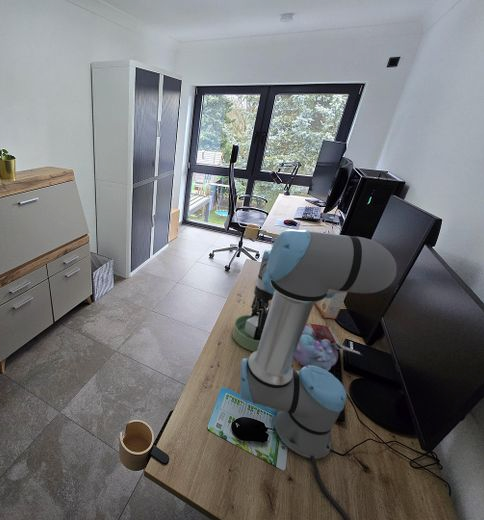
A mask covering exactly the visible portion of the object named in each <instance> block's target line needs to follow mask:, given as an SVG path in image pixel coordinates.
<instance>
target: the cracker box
mask: <svg viewBox="0 0 484 520" xmlns="http://www.w3.org/2000/svg"><path fill="white" fill-rule="evenodd" d="M347 295H348V292H341V293H336V294H335V295H334V296H333V297H332V298H324V299H323V300H321V301H319V302H315V303H314V305H315V306H316V307H317V308H318V310H319V312H320V314H321V316H322V317H323V318H325V319H333V320H337V318H338V315H339V313H340V311H341V309H342V306H343V303H344V301H345V299H346V297H347Z"/></svg>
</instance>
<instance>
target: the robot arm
mask: <svg viewBox="0 0 484 520" xmlns="http://www.w3.org/2000/svg"><path fill="white" fill-rule="evenodd" d="M260 262H261V263H260V265H259V266H260V267H259V272H258V275H257V278H256V282H255V286H254V291H253V294H254V297H253V300H252V303H251V306H250V308H251V314H250V315H251V318H252V317H254V316H257V317H258V326H256V327H255V328H256V330H255V334H254V337H253V340H260V342H259V346H258V349H257V351H255V352H254V351H252V353H250V355H249V357H244V358H242V359H241V366H240V387H239V390H240V391H239V392H240V393H239V394H240V397H241V398H242V400H245V401H247V402H249V403H252V404H254V405H255V404H256V405H260V406H263V407H267V408H270V409H273V410H278V411H277V413H276V415H275V417H274V420H273V426H274V430H275V431H274V432H275V433H276V435H277V437H278V439H279V440H280V442H281V443H282V444H283V445H284V446H285V447H286V448H287V449H288V450H289V451H291V452H292V453H294V454H295V455H297V456H298V457H300V458H303V459H307V460H310V461H311V463H312V466H313V469H314V475H315V477H316V481H317V483H318V485H319V487H320V490H322V492H323V494H324V495H325V496H326V497H327V499H328V500H329V501H330V502H331V504H332V505H333V506H334V507H335V508H336V509H337V511H338V512H339V513H340V514H341V516H342V517H343V519H344V520H351V519H350V517H349V516H348V514H347V513H346V511H345V510H344V509H343V508H342V507H341V505H340V504H339V502H337V501H336V500H335V499H334V497H333V496H332V495H331V494H330V492H329V491H328V490H327V488H326V487H325V485H324V482H323V481H322V479H321V474H320V471H319V467H318V463H317V461H319V460H322V459H324V458H326V457H327V456H328V455H329V453H330V451H331V449H332V445H333V438H332V429H333V427H334V425H335V424H336V422H337V420H338V418H339V416H340V413H341V412H342V411H343V410H344V408H345V404H346V401H347V392H346V388H345V387H344V385H343V383H342V382H341V381H340V380H339V379H338V378H337V377H336V376H334V374H333V373H331V372H330V371H329V370H328V371H326V370H324V369H322V368H320V367H317V366H311V365H309V366H303V367H302V368H300V369H299V370H295V369H293V368H292V366H291V364H292V361H293V358H294V357H295V356H294V354H295V351H296V349H297V346H298V343H299V341H300V338H301V336H302V333H303V331H304V328H305V325H306V326H307V323H308V321H309V318H310V315H311V313H312V310H313V307H314V306H315V302H319V301H321V300H323V299H324V298H332V297H333V296H334V295H335V294H336V293H341V292H347V293H353V294H359V295H365V294H374V293H378V292H382V291H383V290H385V289H386V288H388V287H390V285H392V283H393V282H394V280H395V278H396V277H397V269H398V268H397V263H396V260H395V258H394V256H393V255H392V253H391V251H389V250H388V249H387V248H386V247H385V246H384V245H382V244H381V243H379V242H377V241H374V240H372V239H369V238H366V237H361V236H351V235H343V234H336V233H335V234H334V233H327V232H319V231H310V230H308V229H301V230H300V229H286V230H284V231H282V232H280V234H279V235H278V236H277V237H276V239H275V240H274V243H273V245H272V247H271V248H268V249H265V250H264V251H263V254H262V257H261V261H260ZM270 301H271V302H270Z"/></svg>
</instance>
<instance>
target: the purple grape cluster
mask: <svg viewBox="0 0 484 520" xmlns="http://www.w3.org/2000/svg"><path fill="white" fill-rule="evenodd" d="M309 325H310V326H308V325H307V324H306V325H305V328H304V331H303V333H302V336H301V338H300V341H299V343H298V346H297V349H296V351H295V354H294V356H293V357H294V358H295V361H296V362H297V363H299V364H300V365H301V366H303V367H306V366H309V365H311V366H317V367H320V368H322V369H324V370H326V371H328V372H329V370H331V368H332V367H333V366H335V365H336V364H337V362H338V360H339V351H338V350H340V351H344V352H347V353H352V354H355V355H358V356H359V355H360V356H362V353H361V352H360V351H358V350H355V349H352V348H350V347H347V346H346V345H342V344H340V341H339V339H338V338H337V336H336V335H335V333H334V332H333V331H332V329H331V327H329V326H328V325H327V324H318V323H312V322H311V323H309Z"/></svg>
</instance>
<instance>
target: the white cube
mask: <svg viewBox="0 0 484 520" xmlns="http://www.w3.org/2000/svg"><path fill="white" fill-rule="evenodd" d="M256 326H258V317H257V316H254V317H252V318H250V319H248V320H246V325H245V329H244V331H245V332H246V333H247V334H249V335H250V336H252V337H254V334H255V330H256V328H255V327H256Z"/></svg>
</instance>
